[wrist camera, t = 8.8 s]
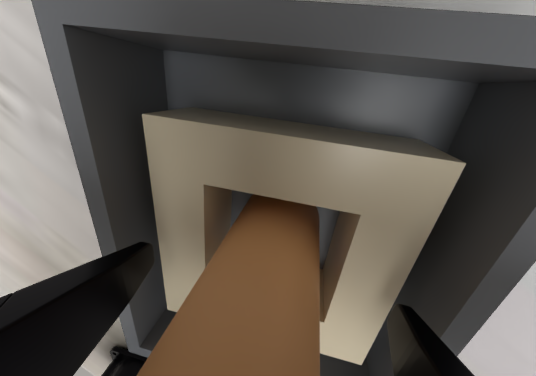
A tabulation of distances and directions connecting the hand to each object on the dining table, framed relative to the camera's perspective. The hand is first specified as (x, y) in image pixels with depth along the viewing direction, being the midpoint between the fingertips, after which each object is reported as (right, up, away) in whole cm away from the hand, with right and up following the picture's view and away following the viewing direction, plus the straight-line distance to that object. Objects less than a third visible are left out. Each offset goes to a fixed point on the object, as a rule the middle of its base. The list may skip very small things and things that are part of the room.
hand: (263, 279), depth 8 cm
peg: (+1, +2, +4) cm, 4 cm away
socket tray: (+1, +2, +4) cm, 5 cm away
